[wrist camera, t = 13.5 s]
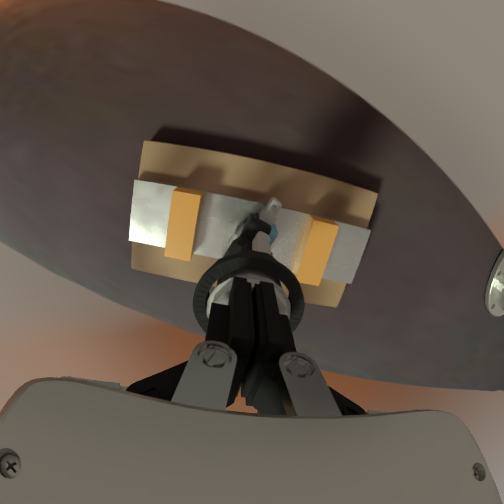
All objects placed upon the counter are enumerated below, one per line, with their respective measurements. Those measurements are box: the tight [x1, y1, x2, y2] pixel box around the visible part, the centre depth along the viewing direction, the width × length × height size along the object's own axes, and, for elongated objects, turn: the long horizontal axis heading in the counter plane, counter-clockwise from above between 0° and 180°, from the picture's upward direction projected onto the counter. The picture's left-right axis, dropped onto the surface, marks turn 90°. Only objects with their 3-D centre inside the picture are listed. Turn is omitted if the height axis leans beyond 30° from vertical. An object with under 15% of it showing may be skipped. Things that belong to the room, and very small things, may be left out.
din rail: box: [129, 178, 371, 284], centre depth 22 cm, size 19×5×1 cm, turn 77°
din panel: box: [131, 140, 378, 307], centre depth 23 cm, size 19×11×2 cm, turn 77°
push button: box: [193, 197, 304, 332], centre depth 17 cm, size 7×5×10 cm
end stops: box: [164, 187, 339, 286], centre depth 21 cm, size 12×5×2 cm, turn 77°
